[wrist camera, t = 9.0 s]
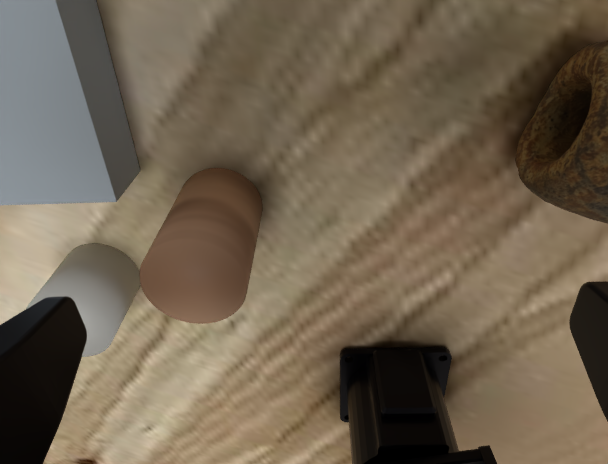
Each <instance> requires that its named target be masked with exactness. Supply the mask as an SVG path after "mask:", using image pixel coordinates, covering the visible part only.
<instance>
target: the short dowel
mask: <svg viewBox="0 0 608 464" xmlns="http://www.w3.org/2000/svg"><path fill="white" fill-rule="evenodd" d="M139 287H140V277H139V270H138V268H137V266H136V265H135V263H134V262H133V261H132V260H131V259H130V258H129V257H128V256H127V255H126V254H124V253H123V252H121V251H120V250H118V249H116V248H113V247H111V246H108V245H103V244H94V243H92V244H84V245H81V246H78V247H76V248H75V249H73V250H72V251H71V252H70V253H69V254H68V256H67V257H66V258H65V259H64V261H63V262H62V263H61V264H60V266H59V267H58V268H57V269H56V271H55V272H54V273H53V274H52V276H51V277H50V278H49V280H48V281H47V282H46V283H45V285H44V286H43V287H42V288H41V290H40V291H39V292H38V293H37V295H36V296H35V297H34V298H33V300H32V301H31V302H30V303H29V305H28V306H27V308H26V309H28V308H29V307H31V306H32V305H34V304H36V303H37V302H39V301H41V300H42V299H44V298H47V297H57V296H68V297H71V298H72V299H73V300H74V302H75V303H76V306H77V308H78V310H79V313H80V315H81V318H82V320H83V322H84V325H85V327H86V330H87V341H86V345H85V348H84V351H83V354H82V357H86V356H93V355H96V354H99V353H101V352H103V351H105V350H106V349H107V348H108V347H109V346H110V344H111V342H112V340H113V339H114V337H115V335H116V333H117V331H118V329H119V327H120V325H121V323H122V321H123V319H124V317H125V315H126V313H127V311H128V309H129V307H130V305H131V303H132V301H133V299H134V297H135V295H136V293H137V291H138V289H139Z"/></svg>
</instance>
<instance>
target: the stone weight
mask: <svg viewBox="0 0 608 464" xmlns="http://www.w3.org/2000/svg"><path fill="white" fill-rule="evenodd" d="M515 162H516V165H517V168H518V172H519V176H520V179H521V180H522V182H523V183H524V184H525V186H526V187H527V188H528V189H530V190H531V191H532V192H533V193H534V194H536V195H537V196H538V197H540V198H541V199H543V200H544V201H545V202H548V203H551V204H553V205H555V206H557V207H560V208H562V209H564V210H567V211H570V212H573V213H576V214H578V215H581V216H584V217H587V218H590V219H593V220H597V221H601V222H605V223H608V41H606V42H600V43H595V44H591V45H588V46H586V47H584V48H583V49H581V50H580V51H578V52H577V53H576V54H575V55H574V56H572V57H571V58H570V59H569V60H568V61H567V62H566V63H565V64H564V65H563V66H562V67H561V69H560V70H559V72H558V73H557V75H556V76H555V78H554V79H553V81H552V83H551V84H550V86H549V88H548V90H547V92H546V94H545V95H544V97H543V99H542V100H541V102H540V104H539V105H538V107H537V110H536V112H535V114H534V116H533V117H532V119H531V120H530V122H529V123H528V124H527V126H526V128H525V130H524V131H523V134H522V136H521V138H520V140H519V142H518V147H517V154H516V158H515Z"/></svg>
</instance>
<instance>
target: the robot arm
mask: <svg viewBox="0 0 608 464" xmlns="http://www.w3.org/2000/svg"><path fill="white" fill-rule="evenodd" d="M570 330H571V333H572V336H573V338H574V341H575V343H576V346H577V348H578V351H579V353H580V356H581V359H582V361H583V364H584V366H585V369H586V371H587V374H588V376H589V379H590V382H591V384H592V387H593V389H594V392H595V394H596V397H597V399H598V402H599V404H600V406H601V409H602V411H603V413H604V415H605V417H606V419H607V421H608V282H587V283H585V284H583V285H582V286H581V288H580V290H579V293H578V296H577V299H576V302H575V305H574V307H573V310H572V313H571V316H570ZM86 341H87V330H86V327H85V325H84V322H83V320H82V318H81V315H80V313H79V310H78V308H77V306H76V303H75V302H74V300H73V299H72V298H71V297H68V296H57V297H47V298H44V299H42V300H41V301H39V302H37V303H36V304H34V305H32V306H31V307H29V308H28V309H26V310H24V311H23V312H21V313H19V314H18V315H16V316H14V317H13V318H11V319H9V320H8V321H6V322H5V323H3V324H1V325H0V464H43V462H44V459H45V457H46V455H47V453H48V450H49V448H50V446H51V443H52V441H53V439H54V436H55V434H56V432H57V429H58V427H59V424H60V422H61V419H62V417H63V414H64V411H65V408H66V405H67V402H68V399H69V395H70V392H71V389H72V386H73V383H74V380H75V376H76V373H77V370H78V367H79V364H80V361H81V357H82V354H83V351H84V348H85V345H86ZM442 355H443V356H442ZM348 357H349V358H348ZM451 359H452V357H451V353H450V351H449V349H447V348H445V347H423V348H360V349H345V350H343V351H342V352H341V353H340V418H341V420H342V421H344V422H349V427H350V440H351V454H352V464H497V462H496V460H495V458H494V455H493V453H492V450H491V448H490V446H489V445H488V446H481V447H478V449H473V450H466V451H459V450H458V446H457V443H456V439H455V436H454V432H453V429H452V425H451V422H450V418H449V415H448V411H447V408H446V404H445V401H444V395H445V390H446V385H447V380H448V374H449V369H450V364H451Z"/></svg>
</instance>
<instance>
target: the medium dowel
mask: <svg viewBox="0 0 608 464" xmlns="http://www.w3.org/2000/svg"><path fill="white" fill-rule="evenodd" d="M261 216H262V200H261V197H260V194H259V192H258V190H257V189H256V187H255V186H254V185H253V184H252V183H251V182H250V181H249V180H248V179H247V178H246V177H244V176H243V175H241V174H239V173H237V172H235V171H232V170H228V169H223V168H210V169H205V170H202V171H200V172H198V173H196V174H194V175H193V176H191V177H190V178H189V179H188V180H187V181H186V183H185V184H184V186H183V188H182V190H181V192H180V193H179V195H178V197H177V199H176V201H175V203H174V205H173V206H172V208H171V210H170V212H169V214H168V216H167V218H166V219H165V221H164V223H163V225H162V227H161V229H160V230H159V232H158V234H157V236H156V238H155V240H154V242H153V243H152V245H151V247H150V249H149V251H148V253H147V255H146V256H145V258H144V260H143V262H142V264H141V268H140V273H139V277H140V284H141V287H142V290H143V292H144V294H145V295H146V297H147V298H148V299H149V301H150V302H151V303H152V304H153V305H154V306H155V307H156V308H158V309H159V310H160V311H162V312H163V313H165V314H167V315H168V316H170V317H173V318H175V319H178V320H181V321H185V322H189V323H202V324H203V323H212V322H217V321H220V320H223V319H225V318H227V317H229V316H231V315H232V314H234V313H235V312H236V311H237V310H238V309H239V308H240V307H241V305H242V304H243V302H244V300H245V297H246V294H247V289H248V284H249V278H250V273H251V268H252V263H253V258H254V252H255V247H256V242H257V237H258V232H259V226H260V221H261Z"/></svg>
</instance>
